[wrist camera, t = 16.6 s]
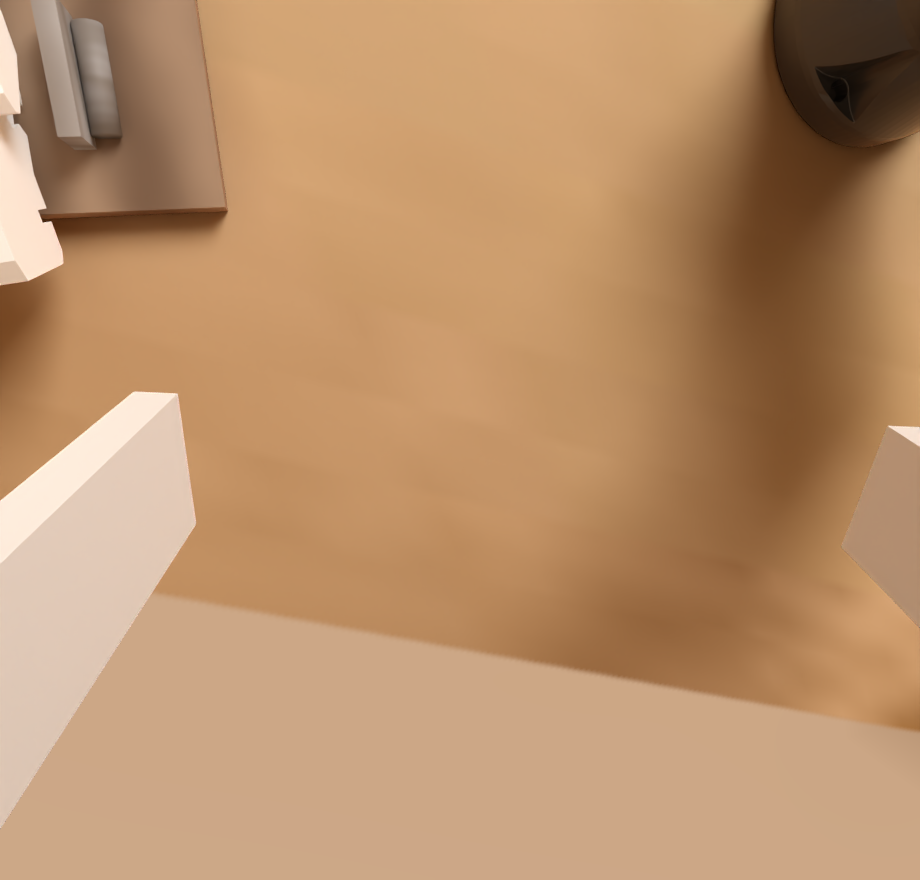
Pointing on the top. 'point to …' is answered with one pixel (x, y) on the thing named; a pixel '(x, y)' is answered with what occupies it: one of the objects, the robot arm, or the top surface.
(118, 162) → the hinge board
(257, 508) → the top surface
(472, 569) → the top surface
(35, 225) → the shelf bracket
